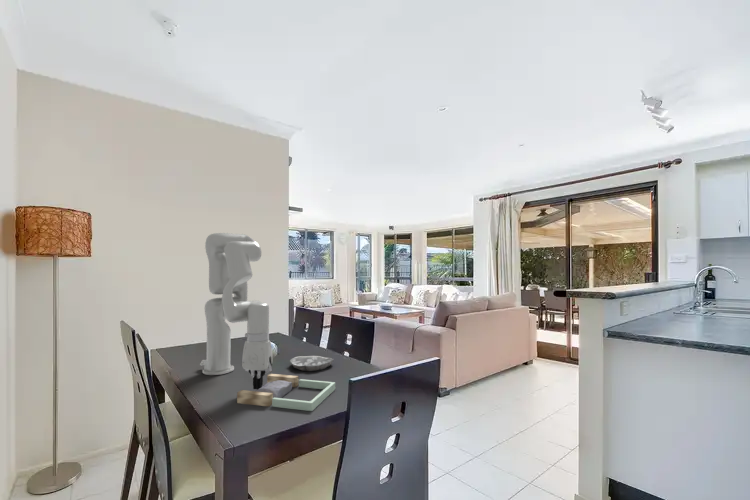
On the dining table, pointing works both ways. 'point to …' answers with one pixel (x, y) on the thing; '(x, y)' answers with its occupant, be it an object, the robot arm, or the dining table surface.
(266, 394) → the blocks
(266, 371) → the robot arm
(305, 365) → the brain slice
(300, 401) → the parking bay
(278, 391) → the stone block
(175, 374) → the dining table surface
